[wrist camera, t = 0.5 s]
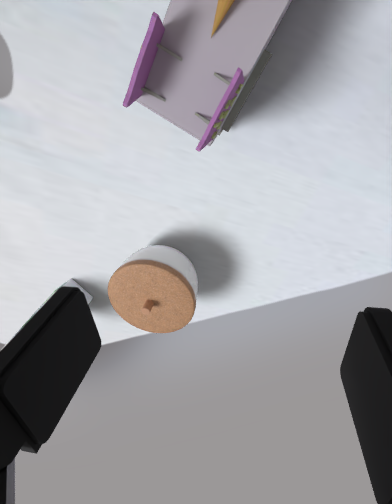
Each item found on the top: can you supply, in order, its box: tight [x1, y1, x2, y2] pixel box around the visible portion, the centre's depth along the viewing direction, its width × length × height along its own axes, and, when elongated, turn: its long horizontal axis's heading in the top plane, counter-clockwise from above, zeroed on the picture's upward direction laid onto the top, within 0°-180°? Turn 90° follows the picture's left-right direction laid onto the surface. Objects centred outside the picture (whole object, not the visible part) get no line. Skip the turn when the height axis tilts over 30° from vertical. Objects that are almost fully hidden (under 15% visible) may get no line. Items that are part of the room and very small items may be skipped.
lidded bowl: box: [108, 245, 198, 333], centre depth 41 cm, size 13×13×11 cm
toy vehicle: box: [123, 0, 292, 151], centre depth 22 cm, size 9×20×15 cm, turn 151°
